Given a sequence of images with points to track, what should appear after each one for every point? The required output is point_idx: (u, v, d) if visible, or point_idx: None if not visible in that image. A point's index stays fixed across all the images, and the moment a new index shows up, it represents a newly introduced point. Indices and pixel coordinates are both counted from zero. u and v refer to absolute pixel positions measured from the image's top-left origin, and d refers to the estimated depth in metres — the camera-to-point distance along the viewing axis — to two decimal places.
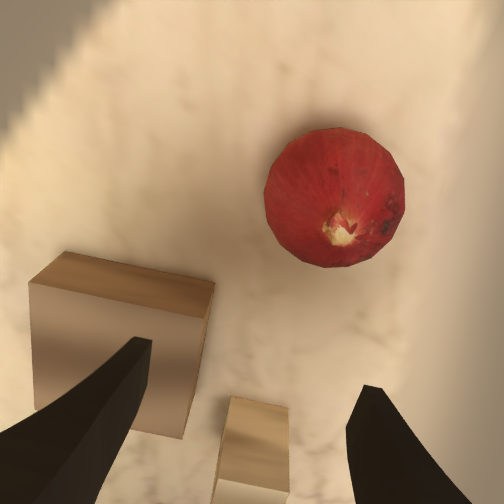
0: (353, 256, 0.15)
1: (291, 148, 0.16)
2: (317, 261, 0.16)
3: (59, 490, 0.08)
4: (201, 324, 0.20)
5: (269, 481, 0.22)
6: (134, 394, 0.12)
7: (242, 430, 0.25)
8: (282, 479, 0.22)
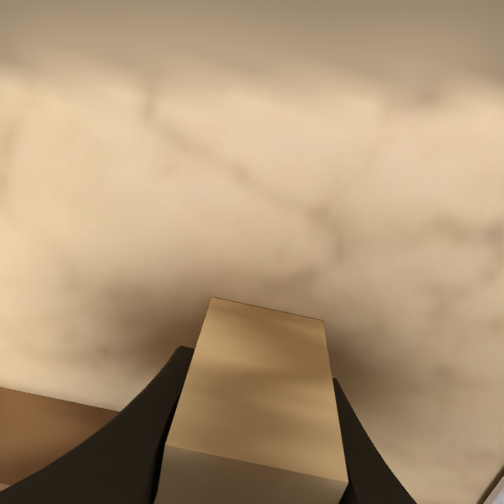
0: None
1: None
2: None
3: None
4: None
5: None
6: None
7: None
8: None
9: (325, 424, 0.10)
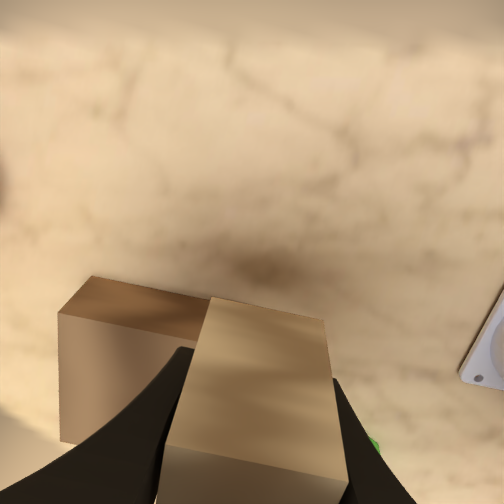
0: None
1: None
2: None
3: None
4: (65, 315, 0.19)
5: None
6: None
7: None
8: None
9: (325, 423, 0.10)
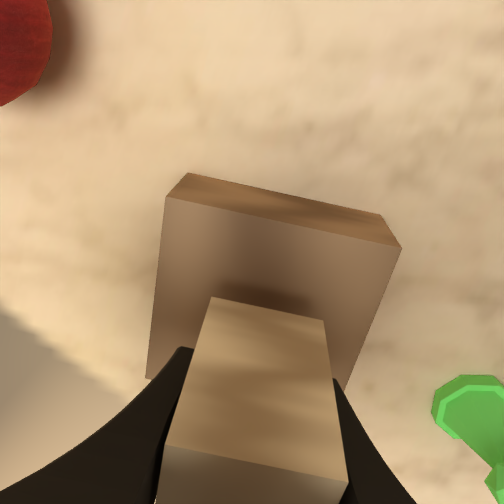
0: None
1: None
2: None
3: None
4: (175, 200, 0.15)
5: None
6: None
7: None
8: None
9: (325, 424, 0.10)
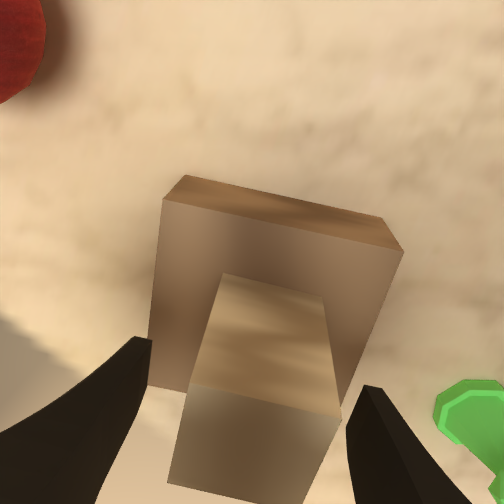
0: None
1: None
2: None
3: (59, 490, 0.08)
4: (172, 203, 0.14)
5: None
6: (134, 394, 0.12)
7: None
8: None
9: (323, 376, 0.11)
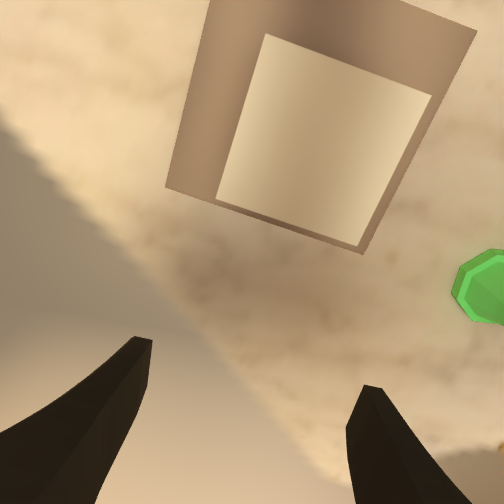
0: None
1: None
2: None
3: (59, 490, 0.08)
4: None
5: None
6: (134, 394, 0.12)
7: None
8: None
9: None
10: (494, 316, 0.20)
